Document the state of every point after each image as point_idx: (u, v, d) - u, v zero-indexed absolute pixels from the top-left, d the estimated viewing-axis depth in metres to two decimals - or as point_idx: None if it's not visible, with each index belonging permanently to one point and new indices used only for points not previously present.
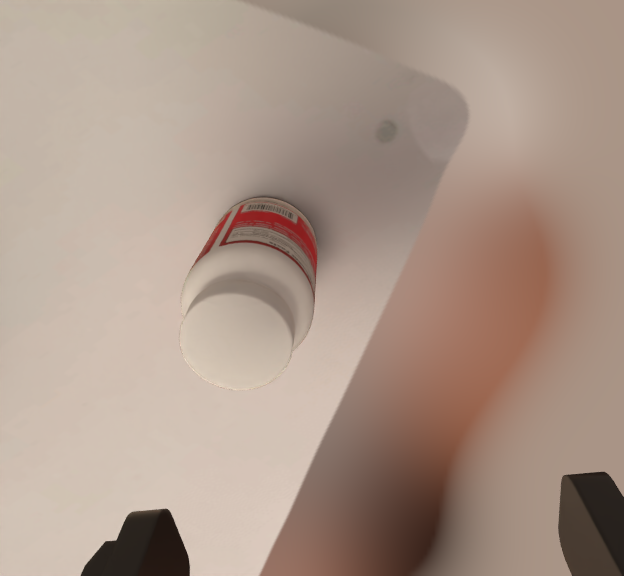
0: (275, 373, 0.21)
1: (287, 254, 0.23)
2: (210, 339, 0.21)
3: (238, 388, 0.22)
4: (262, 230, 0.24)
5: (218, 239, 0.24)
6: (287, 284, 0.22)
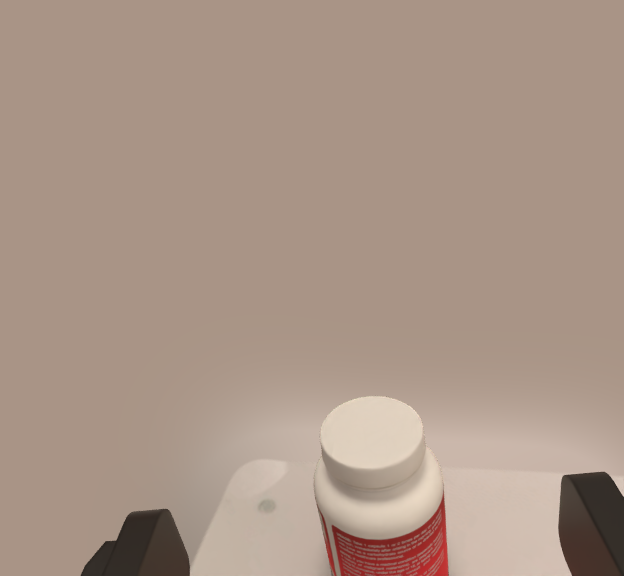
0: (391, 400, 0.25)
1: None
2: (370, 445, 0.22)
3: (418, 418, 0.23)
4: None
5: (331, 539, 0.24)
6: None
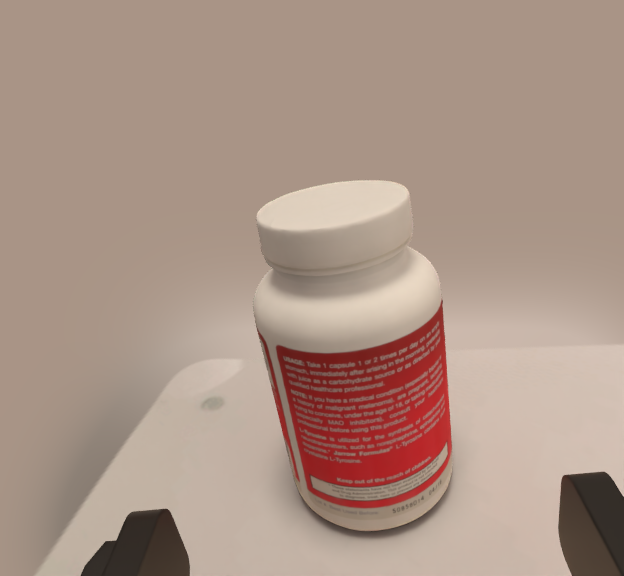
0: (363, 180, 0.17)
1: None
2: (329, 211, 0.15)
3: (401, 186, 0.16)
4: None
5: (278, 377, 0.16)
6: None
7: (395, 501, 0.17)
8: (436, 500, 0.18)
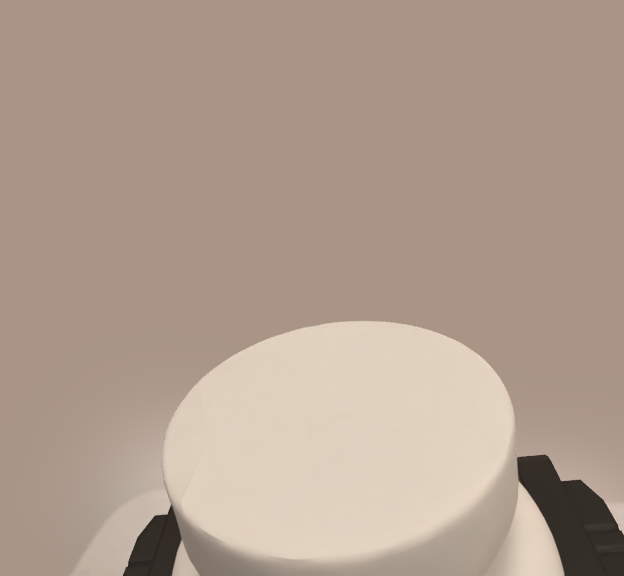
0: (395, 327, 0.08)
1: None
2: (325, 460, 0.06)
3: (486, 369, 0.07)
4: None
5: None
6: None
7: None
8: None
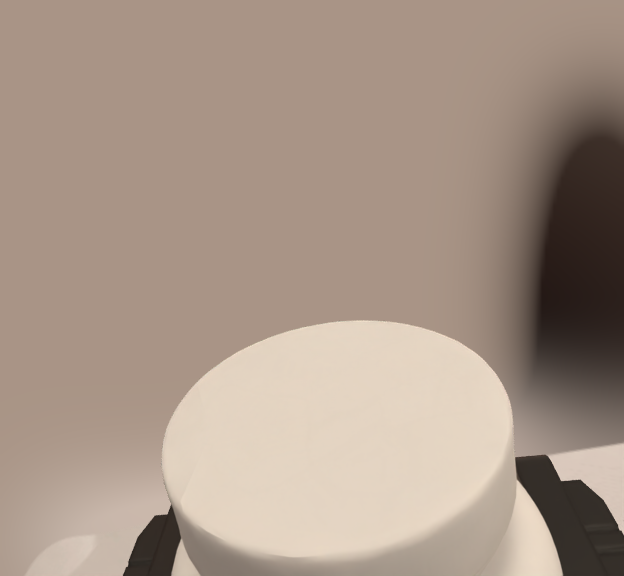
0: (394, 326, 0.08)
1: None
2: (325, 458, 0.06)
3: (484, 368, 0.07)
4: None
5: None
6: None
7: None
8: None
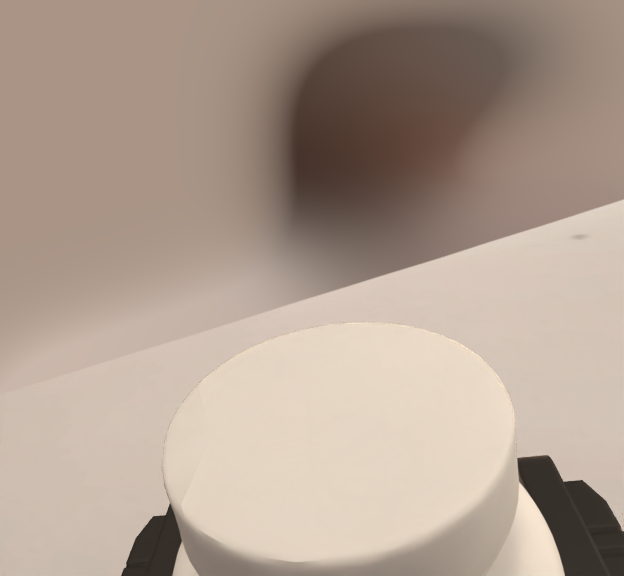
0: (396, 328, 0.08)
1: None
2: (326, 462, 0.06)
3: (486, 371, 0.07)
4: None
5: None
6: None
7: None
8: None
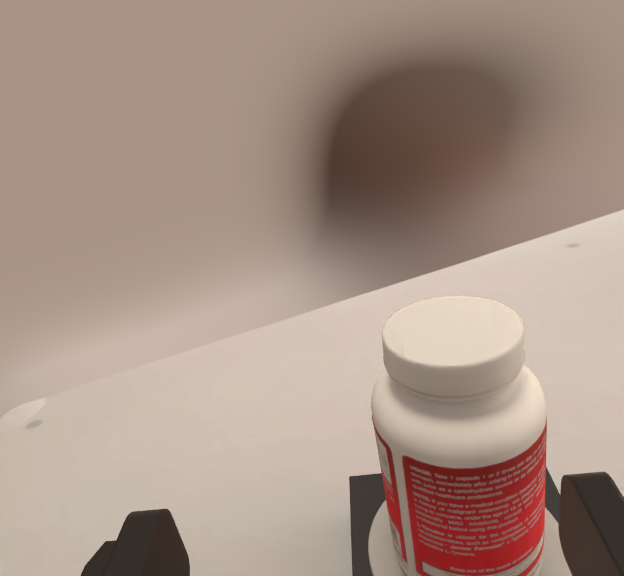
0: (469, 297, 0.19)
1: None
2: (454, 342, 0.17)
3: (511, 312, 0.18)
4: None
5: (400, 479, 0.18)
6: None
7: None
8: None
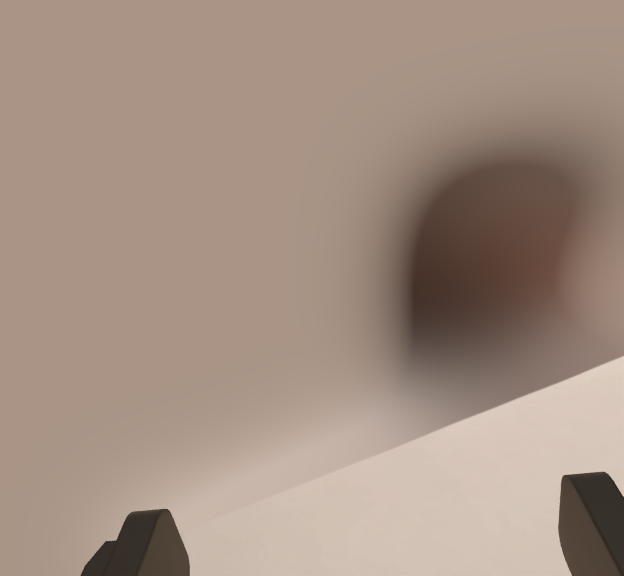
0: None
1: None
2: None
3: None
4: None
5: None
6: None
7: None
8: None
